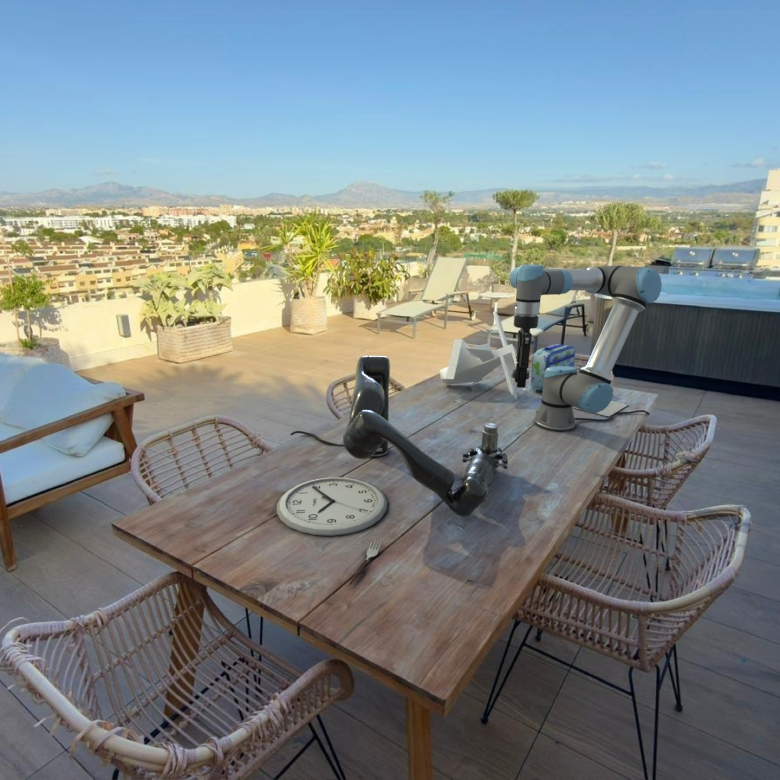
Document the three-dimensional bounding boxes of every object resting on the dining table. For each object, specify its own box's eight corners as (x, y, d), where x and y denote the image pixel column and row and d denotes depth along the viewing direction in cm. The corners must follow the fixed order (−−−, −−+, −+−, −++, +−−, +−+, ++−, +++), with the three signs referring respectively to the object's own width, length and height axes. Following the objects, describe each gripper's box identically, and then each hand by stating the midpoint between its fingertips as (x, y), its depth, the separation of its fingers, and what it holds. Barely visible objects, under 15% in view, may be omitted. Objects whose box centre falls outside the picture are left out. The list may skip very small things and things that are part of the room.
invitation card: (608, 416, 214) (573, 407, 224) (608, 416, 214) (573, 408, 224) (628, 404, 229) (594, 396, 238) (628, 405, 229) (594, 397, 238)
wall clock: (392, 527, 129) (268, 531, 127) (391, 533, 130) (269, 537, 127) (383, 473, 158) (282, 475, 155) (383, 478, 158) (282, 480, 156)
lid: (523, 375, 175) (524, 368, 175) (532, 379, 170) (532, 373, 170) (509, 375, 174) (509, 369, 173) (517, 380, 169) (517, 373, 168)
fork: (344, 585, 111) (344, 577, 110) (372, 544, 125) (372, 537, 125) (355, 588, 110) (355, 580, 109) (382, 546, 124) (382, 539, 124)
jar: (479, 473, 163) (482, 427, 158) (479, 466, 167) (483, 422, 163) (495, 475, 162) (499, 429, 157) (495, 468, 167) (499, 423, 162)
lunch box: (547, 396, 238) (552, 351, 232) (526, 391, 246) (531, 347, 239) (574, 385, 256) (579, 343, 250) (554, 380, 263) (559, 340, 257)
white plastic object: (461, 429, 252) (437, 405, 227) (444, 352, 274) (420, 323, 250) (535, 404, 240) (518, 377, 215) (510, 326, 262) (492, 293, 237)
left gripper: (455, 478, 153) (467, 456, 169) (504, 487, 149) (512, 463, 164) (456, 455, 151) (468, 434, 166) (506, 463, 147) (514, 441, 162)
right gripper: (511, 309, 175) (506, 376, 182) (517, 319, 158) (510, 392, 165) (534, 310, 174) (528, 377, 181) (542, 320, 157) (535, 393, 164)
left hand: (490, 449), depth 165 cm, fingers closed on jar, 5 cm apart
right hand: (519, 384), depth 173 cm, fingers closed on lid, 5 cm apart
